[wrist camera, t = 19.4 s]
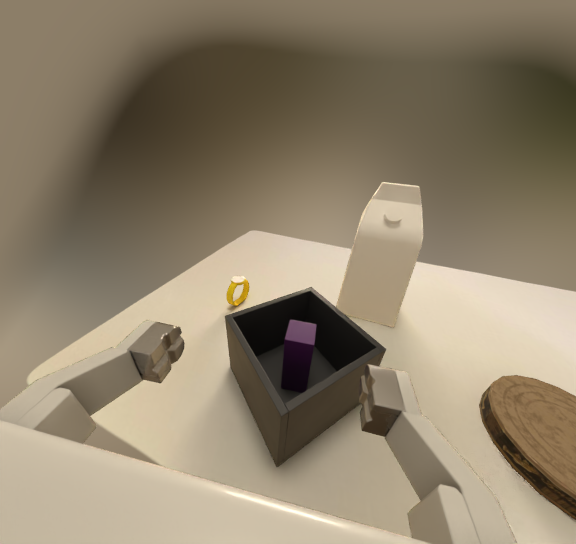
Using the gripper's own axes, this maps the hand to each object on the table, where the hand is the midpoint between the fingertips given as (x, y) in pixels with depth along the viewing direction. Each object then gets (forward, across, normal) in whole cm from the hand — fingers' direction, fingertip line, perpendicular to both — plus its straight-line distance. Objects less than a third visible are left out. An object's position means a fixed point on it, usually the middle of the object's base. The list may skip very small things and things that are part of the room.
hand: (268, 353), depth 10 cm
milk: (+37, +14, -24) cm, 46 cm away
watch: (+30, -14, -24) cm, 41 cm away
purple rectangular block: (+14, +1, -23) cm, 27 cm away
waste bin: (+14, +1, -24) cm, 27 cm away
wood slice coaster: (+13, +35, -23) cm, 44 cm away
